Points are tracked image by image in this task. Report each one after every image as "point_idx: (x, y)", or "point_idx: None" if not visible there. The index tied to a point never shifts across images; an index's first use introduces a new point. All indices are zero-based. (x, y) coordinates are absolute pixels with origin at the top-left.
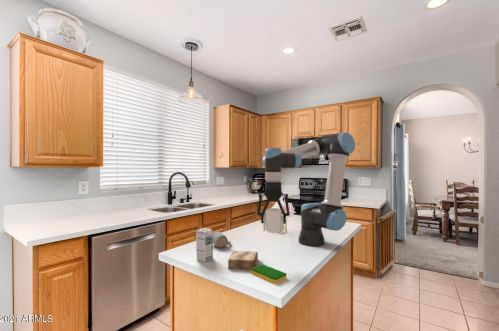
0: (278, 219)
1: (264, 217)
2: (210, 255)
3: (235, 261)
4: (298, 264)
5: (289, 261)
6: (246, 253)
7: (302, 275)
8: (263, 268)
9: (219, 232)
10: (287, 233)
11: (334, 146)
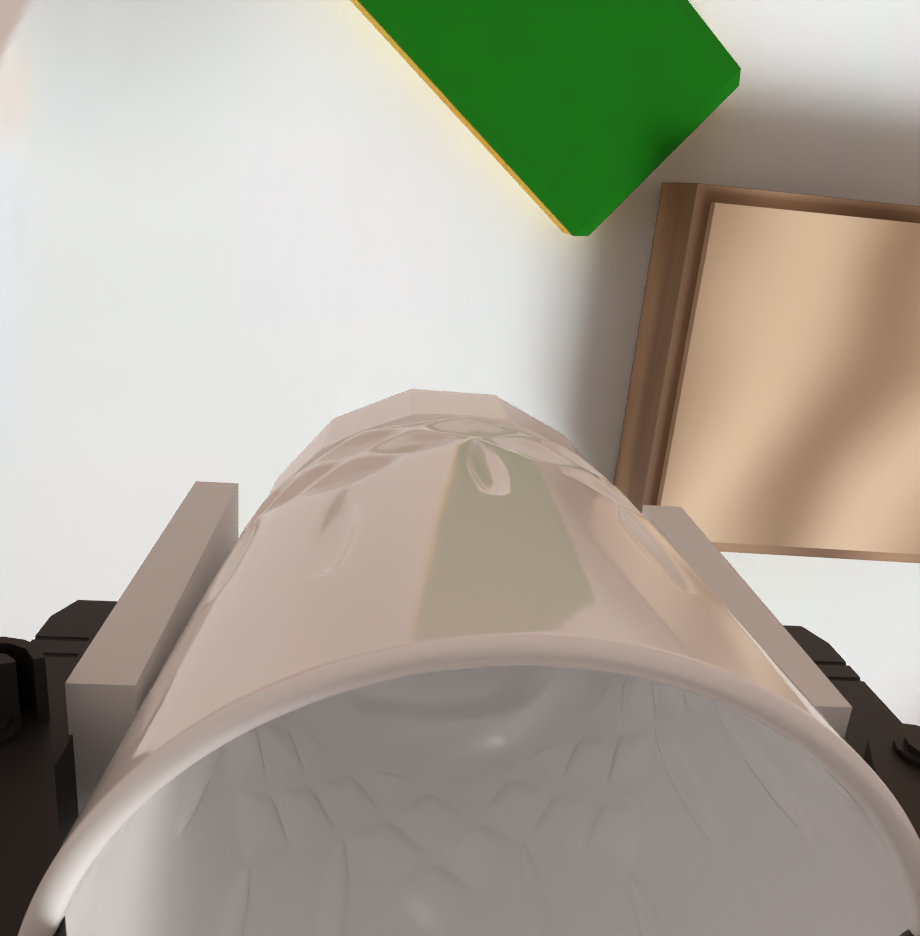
0: (277, 527)
1: (804, 693)
2: None
3: None
4: (93, 374)
5: (209, 468)
6: (800, 463)
7: (49, 5)
8: (574, 72)
9: None
10: None
11: None
